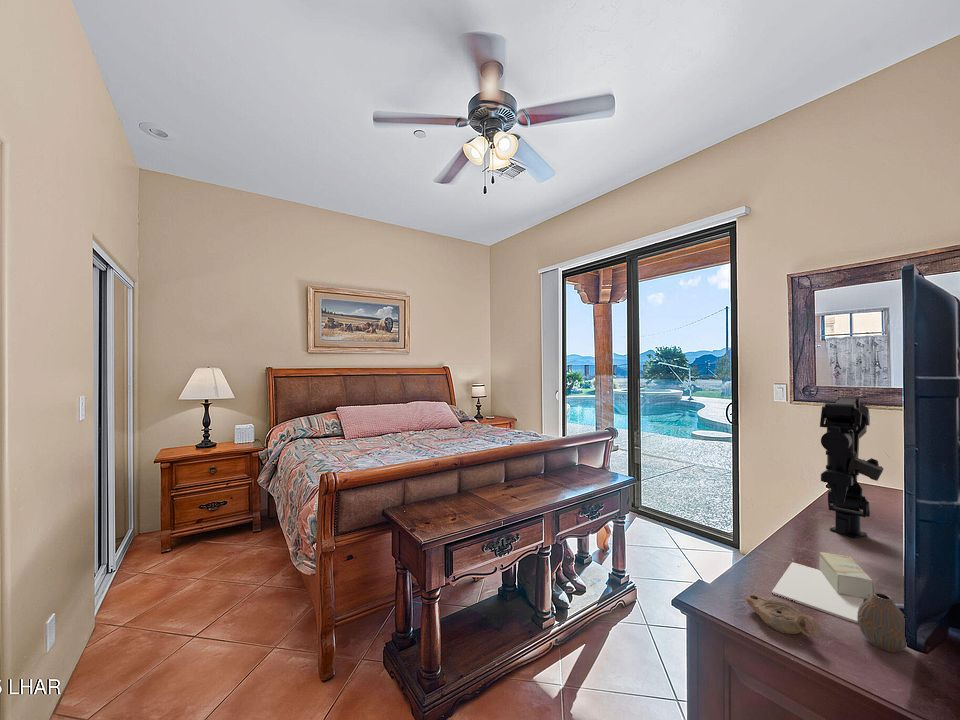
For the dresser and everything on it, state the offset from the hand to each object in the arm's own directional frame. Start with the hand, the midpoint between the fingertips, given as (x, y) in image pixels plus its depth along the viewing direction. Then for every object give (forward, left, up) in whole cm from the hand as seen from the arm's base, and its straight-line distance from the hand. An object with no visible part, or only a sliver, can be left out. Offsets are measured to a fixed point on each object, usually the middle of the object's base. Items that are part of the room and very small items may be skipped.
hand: (841, 503), depth 113 cm
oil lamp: (+52, +17, -12) cm, 56 cm away
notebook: (+30, +12, -12) cm, 35 cm away
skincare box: (+19, +8, -10) cm, 23 cm away
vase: (+40, +27, -12) cm, 50 cm away
